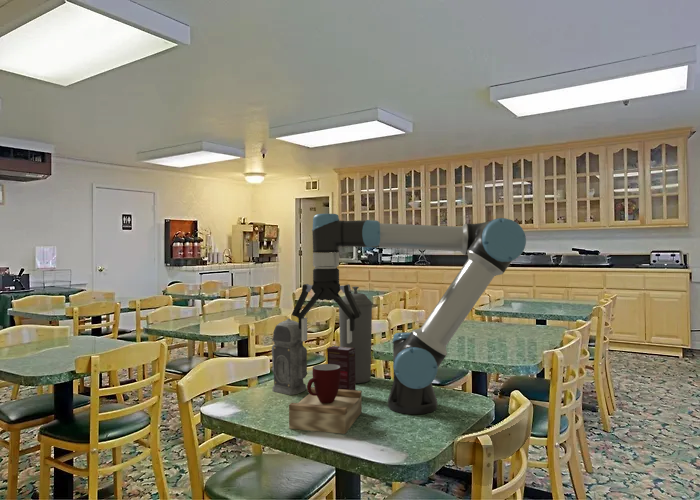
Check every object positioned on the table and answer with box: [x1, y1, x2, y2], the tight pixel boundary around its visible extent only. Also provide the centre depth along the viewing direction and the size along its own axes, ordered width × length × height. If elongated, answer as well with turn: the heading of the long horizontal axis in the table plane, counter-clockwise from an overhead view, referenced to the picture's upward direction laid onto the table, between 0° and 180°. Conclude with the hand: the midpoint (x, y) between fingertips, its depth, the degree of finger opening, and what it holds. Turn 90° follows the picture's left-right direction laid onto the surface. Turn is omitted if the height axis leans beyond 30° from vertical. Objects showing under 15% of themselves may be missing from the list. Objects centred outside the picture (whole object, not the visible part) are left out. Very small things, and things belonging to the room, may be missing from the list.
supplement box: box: [326, 345, 357, 390], centre depth 170 cm, size 9×5×16 cm, turn 60°
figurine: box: [271, 318, 308, 396], centre depth 176 cm, size 10×14×25 cm
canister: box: [338, 286, 373, 384], centre depth 188 cm, size 13×13×35 cm
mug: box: [306, 363, 340, 403], centre depth 145 cm, size 11×8×10 cm
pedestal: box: [288, 386, 363, 435], centre depth 145 cm, size 16×18×6 cm
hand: (326, 341), depth 145 cm, fingers open, 13 cm apart
